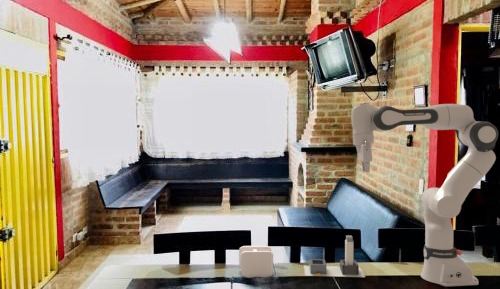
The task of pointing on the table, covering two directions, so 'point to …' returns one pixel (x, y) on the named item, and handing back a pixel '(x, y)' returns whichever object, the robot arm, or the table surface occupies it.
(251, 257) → the cable organizer
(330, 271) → the panel
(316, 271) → the box
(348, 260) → the plug
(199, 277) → the table surface
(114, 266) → the table surface
